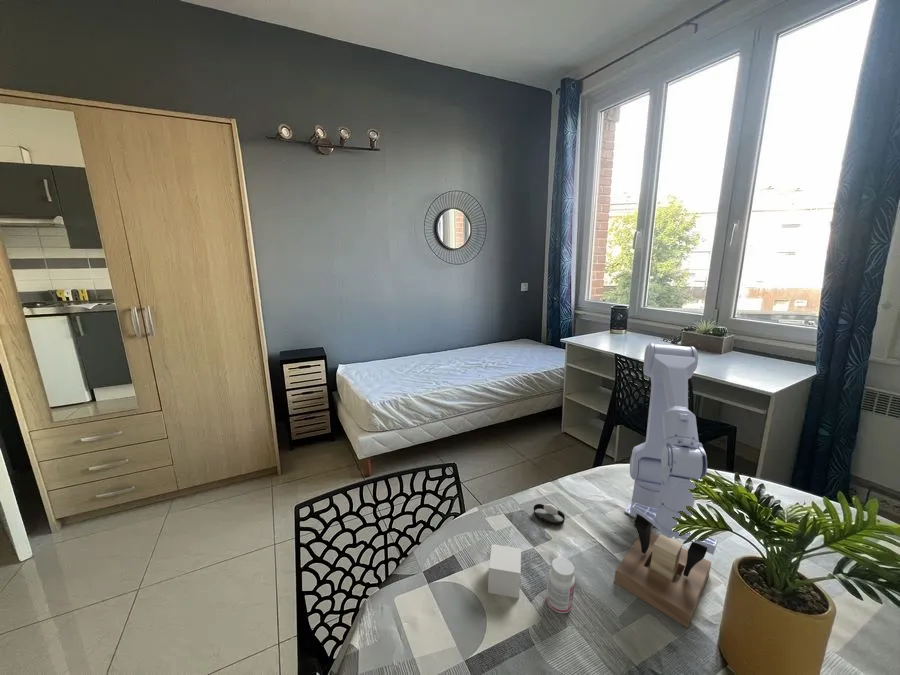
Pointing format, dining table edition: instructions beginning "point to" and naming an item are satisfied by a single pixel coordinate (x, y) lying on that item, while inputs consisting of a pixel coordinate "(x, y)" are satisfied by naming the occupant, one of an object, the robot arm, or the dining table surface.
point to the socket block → (663, 582)
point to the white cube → (504, 571)
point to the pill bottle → (561, 585)
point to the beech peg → (666, 557)
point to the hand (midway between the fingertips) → (665, 561)
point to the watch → (551, 510)
